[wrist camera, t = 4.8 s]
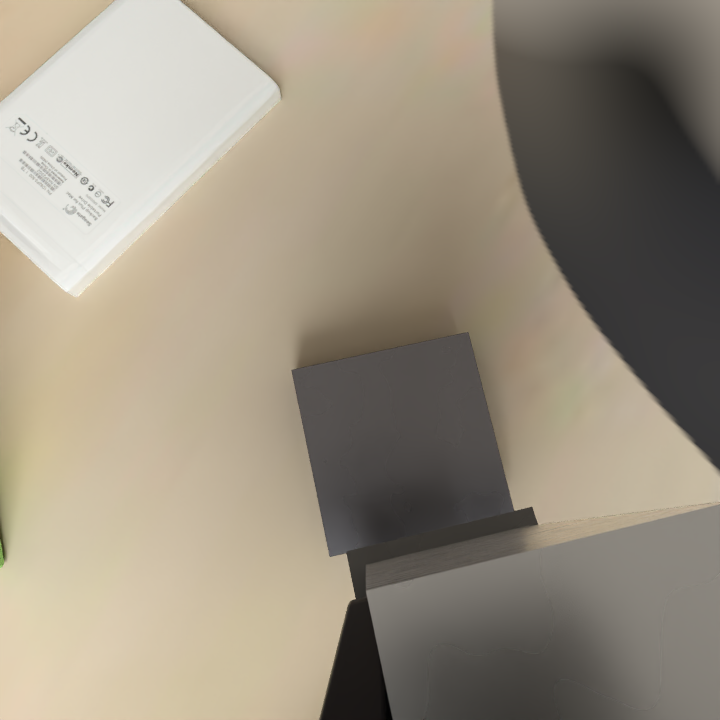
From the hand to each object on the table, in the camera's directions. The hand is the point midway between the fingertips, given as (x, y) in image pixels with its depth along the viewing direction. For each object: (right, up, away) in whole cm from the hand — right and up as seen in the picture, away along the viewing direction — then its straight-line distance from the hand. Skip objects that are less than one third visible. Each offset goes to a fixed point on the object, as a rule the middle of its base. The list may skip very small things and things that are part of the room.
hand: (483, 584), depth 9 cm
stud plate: (-1, +1, +12) cm, 12 cm away
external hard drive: (-13, +14, +14) cm, 24 cm away
